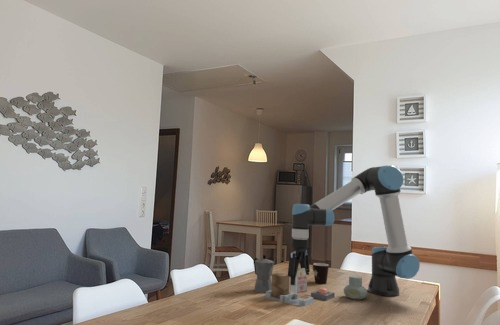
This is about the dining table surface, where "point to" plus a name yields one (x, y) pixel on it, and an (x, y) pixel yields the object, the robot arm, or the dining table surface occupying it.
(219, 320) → the dining table surface
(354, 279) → the air freshener
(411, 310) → the dining table surface
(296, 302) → the board
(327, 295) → the switch box
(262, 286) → the coffeepot
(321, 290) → the button
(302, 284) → the tea bag
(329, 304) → the dining table surface
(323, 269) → the coffee mug
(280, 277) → the walnut block
